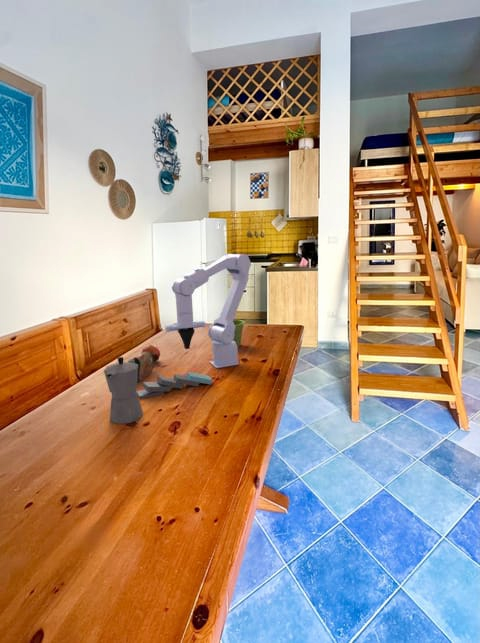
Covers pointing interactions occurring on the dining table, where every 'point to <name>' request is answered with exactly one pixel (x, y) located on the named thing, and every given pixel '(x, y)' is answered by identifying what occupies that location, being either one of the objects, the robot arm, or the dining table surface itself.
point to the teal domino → (199, 378)
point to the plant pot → (238, 331)
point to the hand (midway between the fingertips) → (187, 348)
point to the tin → (145, 364)
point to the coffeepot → (124, 391)
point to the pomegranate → (153, 352)
